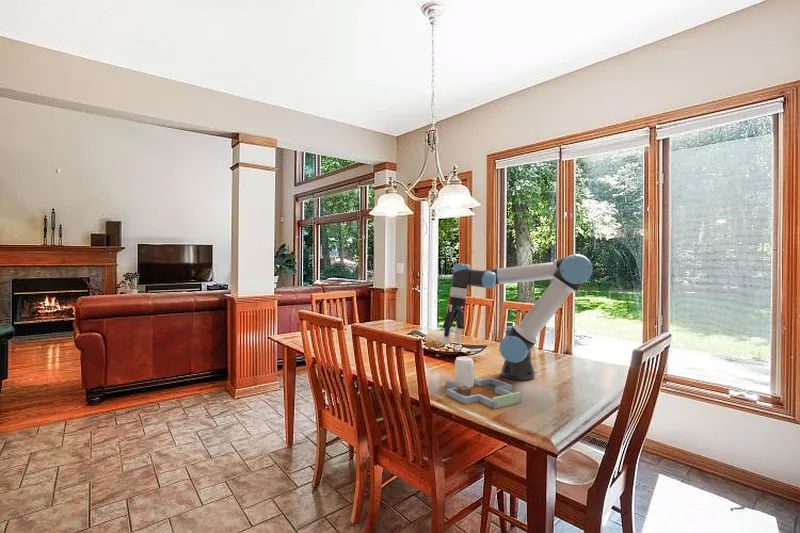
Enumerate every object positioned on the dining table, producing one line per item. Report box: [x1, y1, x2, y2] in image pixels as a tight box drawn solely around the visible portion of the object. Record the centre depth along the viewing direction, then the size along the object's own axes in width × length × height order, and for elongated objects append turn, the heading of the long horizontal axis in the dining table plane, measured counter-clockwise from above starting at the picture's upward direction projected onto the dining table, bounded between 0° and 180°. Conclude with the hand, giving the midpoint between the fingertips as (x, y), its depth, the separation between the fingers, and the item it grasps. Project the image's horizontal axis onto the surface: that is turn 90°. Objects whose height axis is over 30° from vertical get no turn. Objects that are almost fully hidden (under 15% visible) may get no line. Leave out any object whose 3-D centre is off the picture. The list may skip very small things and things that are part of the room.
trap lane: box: [445, 376, 522, 409], centre depth 161 cm, size 30×27×2 cm
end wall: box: [491, 391, 523, 409], centre depth 148 cm, size 1×14×4 cm, turn 120°
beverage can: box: [454, 356, 475, 388], centre depth 170 cm, size 8×8×12 cm
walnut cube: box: [457, 385, 472, 396], centre depth 156 cm, size 4×4×4 cm
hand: (451, 343), depth 181 cm, fingers open, 13 cm apart
